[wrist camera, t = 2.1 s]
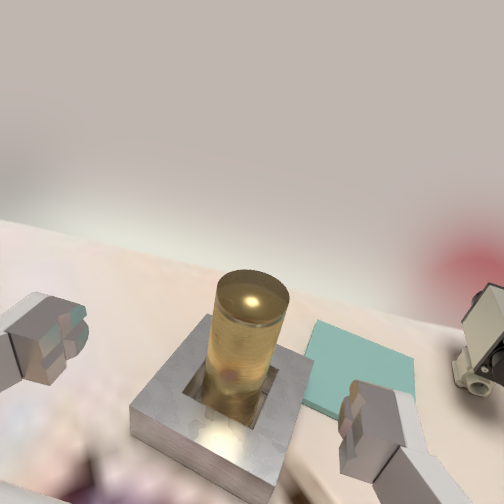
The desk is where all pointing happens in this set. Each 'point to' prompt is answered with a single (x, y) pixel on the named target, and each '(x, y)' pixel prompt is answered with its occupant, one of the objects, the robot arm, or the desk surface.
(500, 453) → the desk surface
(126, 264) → the desk surface
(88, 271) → the desk surface
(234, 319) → the brass cylinder
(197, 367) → the housing
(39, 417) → the desk surface
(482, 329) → the pneumatic valve
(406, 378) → the pad
